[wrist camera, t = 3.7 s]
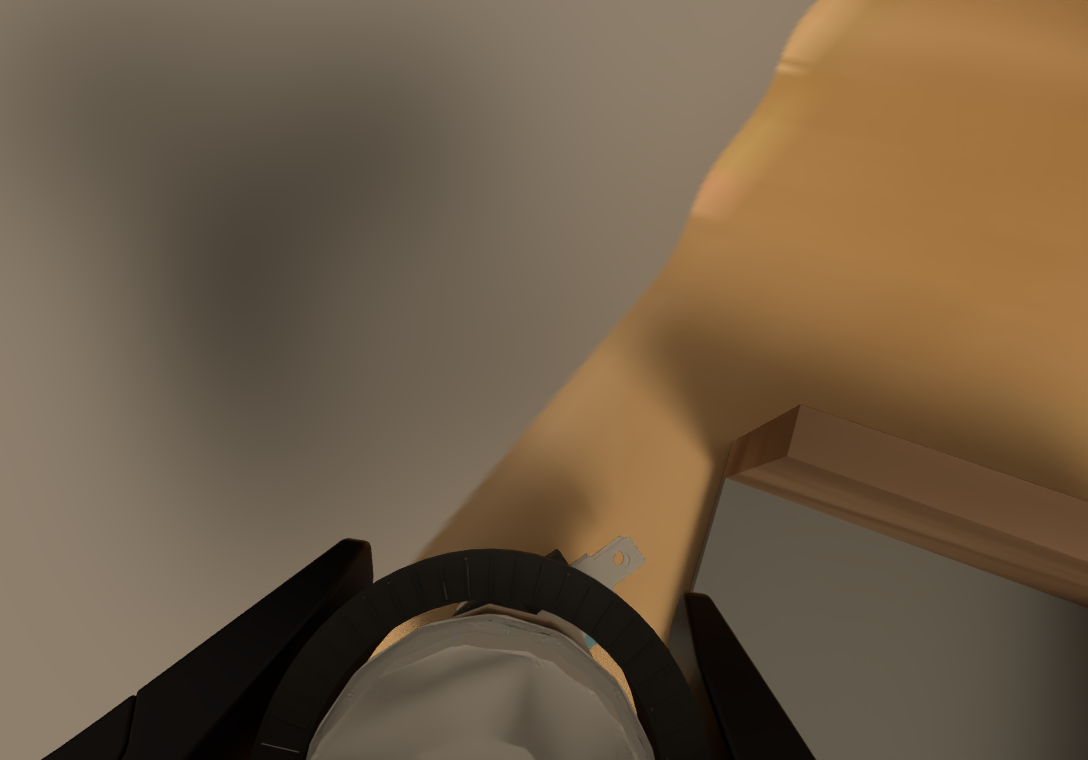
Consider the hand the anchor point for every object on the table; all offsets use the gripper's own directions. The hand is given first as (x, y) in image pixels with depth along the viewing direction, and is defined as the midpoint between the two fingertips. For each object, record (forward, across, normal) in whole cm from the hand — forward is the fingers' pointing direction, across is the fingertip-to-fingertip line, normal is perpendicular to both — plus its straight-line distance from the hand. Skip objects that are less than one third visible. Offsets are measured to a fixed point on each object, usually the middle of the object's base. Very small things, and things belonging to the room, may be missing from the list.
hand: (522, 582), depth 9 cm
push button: (+4, 0, +6) cm, 7 cm away
